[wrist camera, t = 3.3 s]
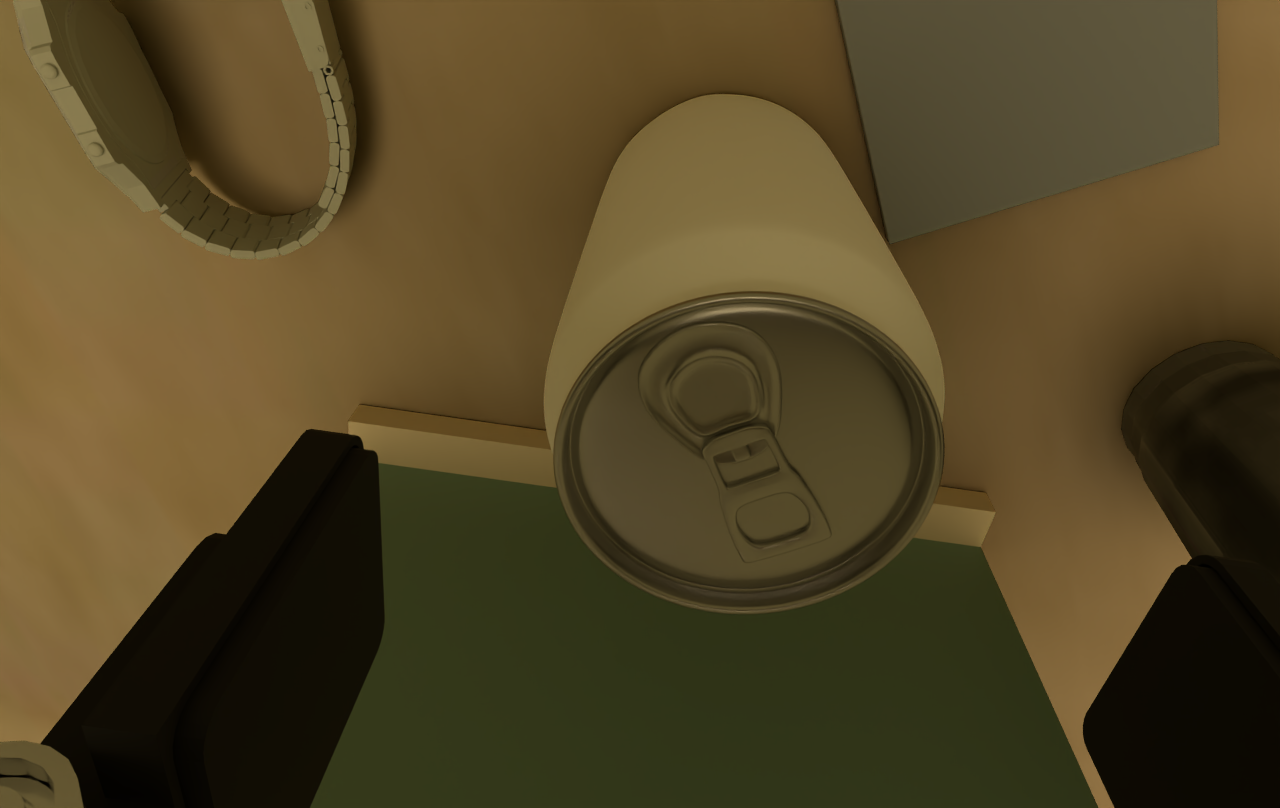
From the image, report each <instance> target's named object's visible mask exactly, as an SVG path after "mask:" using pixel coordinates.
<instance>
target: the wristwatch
mask: <svg viewBox="0 0 1280 808" xmlns="http://www.w3.org/2000/svg"><path fill="white" fill-rule="evenodd" d="M282 3H283V6H284V8H285V11H286V13H287V16H288V19H289V21H290V24H291V26H292V29H293V32H294V34H295V37H296V39H297V42H298V45H299V47H300V50H301V53H302V55H303V58H304V60H305V63H306V66H307V68H308V71H312V72H313V76H314V80H315V83H316V87H317V91H318V92H319V93H321V94H320V99H321V103H322V108H323V112H324V116H325V117H326V118H327V119H326V121H327V130H328V139H329V141H330V142H331V143H330V150H329V163H330V165H331V166H330V169H329V173H328V177H327V180H326V183H325V186H324V189H323V191H322V194H321V197H320V200H319V202H318V203H316V204H315V205H314V206H313V207H312V208H310V209H305V210H303V211H301V212H299V213H296V214H294V215H292V216H291V215H284V216H277V217H272V218H271V216H268V215H260V214H251V215H250V213H249V212H248V211H245V210H243V209H240V208H237V207H235V206H230V207H229V203H228V202H226V201H224V200H223V199H221V198H219V197H218V196H216V195H214V194H213V193H210V192H211V191H210V190H209V189H208V188H207V187H206V186H205V185H204V184H203V183H202V182H201V181H200V180H199V179H198V178H197V177H195V176H194V177H192V176H191V175H190V174H189V173H190V172H191V171H192V170H191V168H190V165H189V163H188V161H187V158H186V156H185V153H184V151H183V149H182V146H181V143H180V140H179V136H178V133H177V129H176V126H175V122H174V119H173V113H172V111H171V109H170V107H169V105H168V103H167V101H166V99H165V97H164V95H163V93H162V91H161V88H160V86H159V84H158V82H157V80H156V78H155V76H154V74H153V72H152V70H151V68H150V66H149V64H148V62H147V60H146V58H145V56H144V54H143V52H142V50H141V48H140V45H139V43H138V41H137V39H136V37H135V35H134V33H133V31H132V28H131V27H130V25H129V23H128V21H127V19H126V17H125V16H124V15H123V14H122V13H120V12H118V11H117V10H116V9H115V7H114V6H113V5H112V4H111V2H110V1H109V0H14V2H13V4H14V8H15V12H16V17H17V21H18V25H19V29H20V34H21V38H22V42H23V46H24V50H25V52H26V53H27V55H28V57H29V59H30V61H31V63H32V64H33V66H34V68H35V70H36V71H37V73H38V75H39V76H40V78H41V80H42V82H43V83H44V85H45V87H46V88H47V90H48V92H49V93H50V95H51V97H52V98H53V100H54V102H55V103H56V105H57V107H58V108H59V110H60V112H61V113H62V115H63V117H64V118H65V120H66V122H67V123H68V125H69V127H70V128H71V130H72V132H73V134H74V135H75V137H76V139H77V140H78V142H79V144H80V145H81V147H82V149H83V150H84V152H85V154H86V155H87V157H88V158H89V160H90V161H91V163H92V164H93V166H94V167H95V169H96V170H98V171H99V172H100V173H101V174H102V175H104V176H105V177H106V178H107V179H108V180H110V181H111V182H112V183H113V184H114V185H115V186H116V187H117V188H118V189H120V190H121V191H122V192H123V193H124V194H125V195H126V196H128V197H129V198H130V199H131V200H132V201H133V202H134V203H135V204H136V205H137V206H138V207H139V208H140V209H141V211H142V212H147V211H151V210H155V209H158V210H159V211H160V213H161V212H163V211H164V212H163V213H162V215H161V216H160V219H161V220H162V221H163V222H164V223H166V224H167V225H168V226H169V227H171V228H172V229H173V230H175V231H176V232H177V233H181V232H182V234H181V236H182V237H183V238H185V239H187V240H189V241H191V242H193V243H195V244H197V245H199V246H201V247H203V246H205V249H206V250H207V251H211V252H215V253H218V254H222V255H226V256H228V255H229V254H230V255H231V257H232V258H239V259H254V258H255V257H256V258H257V259H258V260H261V259H266V258H271V257H276V256H279V254H281V255H286V254H288V253H290V252H292V251H295V250H297V249H299V248H301V246H302V245H303V246H306V245H307V244H308V243H310V242H311V241H312V240H313V239H315V238H316V237H317V236H318V235H319V233H320V232H323V231H324V230H325V228H326V227H327V226H328V224H329V223H330V221H331V220H332V219H333V216H334V214H336V213H337V211H338V208H339V206H340V204H341V201H342V199H343V196H344V193H345V191H346V186H347V183H348V180H349V177H350V174H351V171H352V167H353V161H354V155H355V150H356V126H357V121H356V112H355V107H354V106H353V105H354V97H353V92H352V88H351V84H350V83H349V79H350V78H349V74H348V71H347V67H346V64H345V60H344V59H343V58H341V57H342V51H341V50H340V44H339V40H338V37H337V33H336V29H335V25H334V21H333V17H332V14H331V10H330V6H329V2H328V0H282Z"/></svg>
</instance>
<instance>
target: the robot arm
mask: <svg viewBox="0 0 1280 808" xmlns="http://www.w3.org/2000/svg"><path fill="white" fill-rule="evenodd" d="M384 623H385V610H384V585H383V561H382V536H381V511H380V486H379V462H378V456H377V453H376V452H375V451H373V450H366V449H364V446H363V442H362V439H361V438H360V437H359V436H357V435H350V434H343V433H336V432H329V431H322V430H315V429H309V430H306V431H305V432H304V433H303V434H302V435H301V437H300V438H299V439H298V440H297V442H296V443H295V444H294V446H293V447H292V448H291V450H290V451H289V452H288V454H287V455H286V456H285V458H284V459H283V460H282V462H281V463H280V464H279V466H278V467H277V468H276V469H275V471H274V472H273V473H272V475H271V476H270V477H269V479H268V480H267V481H266V483H265V484H264V485H263V487H262V488H261V489H260V491H259V492H258V493H257V494H256V496H255V497H254V498H253V500H252V501H251V502H250V504H249V505H248V506H247V508H246V509H245V510H244V512H243V513H242V514H241V516H240V517H239V518H238V520H237V521H236V522H235V523H234V525H233V526H232V527H231V529H230V530H229V531H228V533H227V534H218V533H215V534H212V535H210V536H208V537H206V538H205V539H204V540H203V541H202V542H201V543H200V544H199V545H198V546H197V547H196V548H195V549H194V550H193V552H192V553H191V554H190V555H189V557H188V558H187V559H186V560H185V562H184V563H183V564H182V565H181V567H180V568H179V569H178V571H177V572H176V573H175V574H174V576H173V577H172V578H171V579H170V581H169V582H168V583H167V584H166V586H165V587H164V588H163V589H162V591H161V592H160V593H159V595H158V596H157V597H156V598H155V600H154V601H153V602H152V603H151V605H150V606H149V607H148V608H147V610H146V611H145V612H144V613H143V615H142V616H141V617H140V619H139V620H138V621H137V622H136V624H135V625H134V626H133V627H132V629H131V630H130V631H129V632H128V634H127V635H126V636H125V637H124V639H123V640H122V641H121V643H120V644H119V645H118V646H117V648H116V649H115V650H114V651H113V653H112V654H111V655H110V656H109V658H108V659H107V660H106V661H105V663H104V664H103V665H102V667H101V668H100V669H99V670H98V672H97V673H96V674H95V675H94V677H93V678H92V679H91V680H90V682H89V683H88V684H87V685H86V687H85V688H84V689H83V691H82V692H81V693H80V694H79V696H78V697H77V698H76V699H75V701H74V702H73V703H72V704H71V706H70V707H69V708H68V709H67V711H66V712H65V713H64V715H63V716H62V717H61V718H60V720H59V721H58V722H57V723H56V725H55V726H54V727H53V728H52V730H51V731H50V732H49V733H48V735H47V736H46V737H45V739H44V740H43V741H42V742H41V744H37V743H32V742H28V741H10V742H0V808H310V807H311V804H312V802H313V800H314V797H315V795H316V793H317V790H318V788H319V786H320V783H321V781H322V779H323V776H324V774H325V772H326V770H327V767H328V765H329V763H330V760H331V758H332V756H333V753H334V751H335V749H336V746H337V744H338V742H339V740H340V737H341V735H342V733H343V730H344V728H345V726H346V723H347V721H348V719H349V716H350V714H351V712H352V709H353V707H354V705H355V703H356V700H357V698H358V696H359V693H360V691H361V689H362V686H363V684H364V682H365V679H366V677H367V675H368V673H369V670H370V668H371V666H372V663H373V661H374V659H375V656H376V654H377V652H378V649H379V646H380V643H381V640H382V636H383V631H384ZM1083 737H1084V742H1085V745H1086V747H1087V750H1088V752H1089V754H1090V756H1091V758H1092V761H1093V763H1094V765H1095V767H1096V769H1097V771H1098V773H1099V775H1100V778H1101V780H1102V782H1103V784H1104V786H1105V788H1106V790H1107V793H1108V795H1109V797H1110V799H1111V801H1112V803H1113V805H1114V808H1280V584H1279V583H1278V582H1277V581H1276V580H1275V578H1274V577H1273V576H1272V575H1271V574H1270V573H1269V571H1268V570H1266V569H1265V568H1264V567H1263V566H1262V565H1260V564H1259V563H1256V562H1253V561H1248V560H1241V559H1234V558H1227V557H1219V556H1212V555H1198V556H1196V557H1194V558H1193V559H1191V560H1190V561H1189V562H1188V564H1187V565H1181V566H1179V567H1177V568H1176V569H1175V570H1174V572H1173V573H1172V574H1171V576H1170V577H1169V579H1168V581H1167V582H1166V584H1165V586H1164V587H1163V589H1162V590H1161V592H1160V594H1159V595H1158V597H1157V599H1156V600H1155V602H1154V603H1153V605H1152V607H1151V608H1150V610H1149V612H1148V613H1147V615H1146V617H1145V618H1144V620H1143V621H1142V623H1141V625H1140V626H1139V628H1138V630H1137V631H1136V633H1135V635H1134V636H1133V638H1132V639H1131V641H1130V643H1129V644H1128V646H1127V648H1126V649H1125V651H1124V653H1123V654H1122V656H1121V657H1120V659H1119V661H1118V662H1117V664H1116V666H1115V667H1114V669H1113V670H1112V672H1111V674H1110V675H1109V677H1108V679H1107V680H1106V682H1105V684H1104V685H1103V687H1102V688H1101V690H1100V692H1099V693H1098V695H1097V697H1096V698H1095V700H1094V702H1093V703H1092V705H1091V706H1090V708H1089V710H1088V711H1087V713H1086V716H1085V718H1084V723H1083Z"/></svg>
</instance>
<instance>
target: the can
mask: <svg viewBox="0 0 1280 808" xmlns="http://www.w3.org/2000/svg"><path fill="white" fill-rule="evenodd" d="M944 403H945V383H944V374H943V367H942V362H941V358H940V354H939V351H938V347H937V344H936V341H935V338H934V335H933V332H932V330H931V327H930V325H929V323H928V321H927V318H926V316H925V314H924V312H923V310H922V308H921V306H920V304H919V302H918V300H917V298H916V297H915V295H914V293H913V291H912V289H911V287H910V286H909V284H908V282H907V280H906V278H905V277H904V275H903V273H902V271H901V270H900V268H899V266H898V264H897V263H896V261H895V259H894V257H893V255H892V254H891V252H890V250H889V248H888V247H887V245H886V243H885V241H884V240H883V238H882V236H881V234H880V233H879V231H878V229H877V228H876V226H875V224H874V222H873V221H872V219H871V217H870V215H869V214H868V212H867V210H866V208H865V207H864V205H863V203H862V202H861V200H860V198H859V197H858V195H857V193H856V191H855V190H854V188H853V186H852V185H851V183H850V181H849V180H848V178H847V176H846V174H845V173H844V171H843V169H842V168H841V166H840V164H839V163H838V161H837V160H836V158H835V156H834V155H833V153H832V152H831V150H830V149H829V147H828V146H827V145H826V143H825V142H824V141H823V139H822V138H821V137H820V136H819V135H818V133H817V132H816V131H815V130H814V129H813V128H812V127H811V126H809V125H808V124H807V123H806V122H805V121H804V120H802V119H801V118H800V117H798V116H797V115H795V114H794V113H792V112H791V111H789V110H787V109H785V108H783V107H781V106H779V105H777V104H775V103H772V102H770V101H767V100H764V99H760V98H756V97H751V96H745V95H736V94H712V95H705V96H701V97H697V98H694V99H690V100H688V101H685V102H683V103H681V104H678V105H676V106H674V107H673V108H671V109H669V110H667V111H666V112H664V113H662V114H661V115H660V116H658V117H657V118H655V119H654V120H653V121H651V122H650V123H649V124H647V125H646V126H645V127H644V128H643V129H642V130H640V131H639V132H638V133H637V134H636V135H635V136H634V137H633V138H632V140H631V141H630V142H629V143H628V144H627V146H626V147H625V148H624V150H623V151H622V153H621V154H620V156H619V157H618V159H617V161H616V163H615V165H614V167H613V169H612V171H611V173H610V176H609V178H608V181H607V183H606V186H605V189H604V191H603V194H602V197H601V200H600V202H599V205H598V208H597V211H596V214H595V217H594V220H593V223H592V225H591V228H590V231H589V234H588V237H587V240H586V243H585V246H584V249H583V252H582V255H581V258H580V261H579V264H578V267H577V270H576V273H575V276H574V279H573V282H572V285H571V288H570V291H569V294H568V297H567V300H566V303H565V306H564V309H563V312H562V315H561V319H560V322H559V325H558V328H557V331H556V334H555V338H554V341H553V345H552V349H551V353H550V356H549V360H548V365H547V370H546V377H545V387H544V418H545V425H546V431H547V436H548V440H549V444H550V447H551V450H552V453H553V466H554V475H555V481H556V486H557V490H558V494H559V497H560V500H561V503H562V506H563V508H564V511H565V513H566V515H567V517H568V519H569V521H570V523H571V525H572V526H573V528H574V530H575V531H576V533H577V534H578V536H579V537H580V539H581V540H582V541H583V543H584V544H585V545H586V546H587V548H588V549H589V550H590V551H591V552H592V553H593V554H594V555H595V556H596V557H597V558H598V559H599V560H600V561H601V562H602V563H603V564H604V565H605V566H606V567H607V568H609V569H610V570H611V571H612V572H614V573H615V574H616V575H618V576H619V577H620V578H622V579H623V580H625V581H626V582H628V583H630V584H631V585H633V586H635V587H636V588H638V589H640V590H642V591H644V592H646V593H648V594H650V595H652V596H655V597H657V598H659V599H662V600H665V601H667V602H670V603H673V604H676V605H680V606H683V607H687V608H691V609H696V610H701V611H706V612H713V613H722V614H739V615H750V614H767V613H775V612H782V611H788V610H793V609H797V608H802V607H805V606H809V605H812V604H816V603H819V602H822V601H824V600H827V599H830V598H832V597H835V596H837V595H839V594H841V593H843V592H845V591H848V590H850V589H851V588H853V587H855V586H857V585H859V584H860V583H862V582H864V581H865V580H867V579H868V578H870V577H871V576H873V575H874V574H876V573H877V572H878V571H880V570H881V569H882V568H884V567H885V566H886V565H887V564H888V563H890V562H891V561H892V560H893V559H894V558H895V557H896V556H897V555H898V554H899V553H900V552H901V551H902V550H903V549H904V548H905V547H906V546H907V544H908V543H909V542H910V541H911V540H912V538H913V537H914V536H915V534H916V533H917V532H918V530H919V529H920V527H921V526H922V524H923V522H924V521H925V519H926V517H927V515H928V513H929V511H930V509H931V507H932V505H933V503H934V500H935V498H936V495H937V492H938V489H939V485H940V482H941V477H942V472H943V465H944V434H943V427H942V420H943V413H944Z"/></svg>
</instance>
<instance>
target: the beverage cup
mask: <svg viewBox="0 0 1280 808" xmlns="http://www.w3.org/2000/svg"><path fill="white" fill-rule="evenodd" d="M1121 430H1122V433H1123V436H1124V439H1125V443H1126V446H1127V448H1128V449H1129V450H1130V451H1131V453H1132V454H1133V455H1134V456H1135V459H1136V462H1137V464H1138V466H1139V467H1140V469H1141V471H1142V475H1143V478H1144V481H1145V482H1146V484H1147V486H1148V487H1149V489H1150V490H1151V492H1152V494H1153V495H1154V497H1155V499H1156V500H1157V502H1158V503H1159V505H1160V507H1161V508H1162V510H1163V512H1164V513H1165V515H1166V517H1167V518H1168V520H1169V521H1170V523H1171V525H1172V526H1173V528H1174V530H1175V531H1176V533H1177V534H1178V536H1179V538H1180V539H1181V541H1182V543H1183V544H1184V546H1185V548H1186V549H1187V551H1188V552H1189V554H1190V556H1191V557H1192V559H1193V558H1194V557H1196V556H1198V555H1212V556H1219V557H1227V558H1234V559H1241V560H1248V561H1253V562H1256V563H1259V564H1260V565H1262V566H1263V567H1264V568H1265V569H1266V570H1268V571H1269V573H1270V574H1271V575H1272V576H1273V577H1274V578H1275V580H1276V581H1277V582H1278V583H1279V584H1280V360H1279V359H1278V358H1276V357H1275V356H1274V355H1273V354H1271V353H1269V352H1267V351H1265V350H1263V349H1261V348H1259V347H1257V346H1256V345H1254V344H1248V343H1241V342H1235V341H1222V342H1214V343H1206V344H1200V345H1198V346H1195V347H1192V348H1190V349H1187V350H1185V351H1182V352H1179V353H1177V354H1174V355H1173V356H1171V357H1170V358H1168V359H1167V360H1165V361H1164V362H1162V363H1161V364H1159V365H1158V366H1156V367H1155V368H1153V369H1152V370H1151V371H1150V372H1149V373H1148V374H1147V375H1146V376H1145V377H1144V378H1143V380H1142V381H1141V382H1140V383H1139V384H1138V385H1137V386H1136V387H1135V388H1134V390H1133V392H1132V394H1131V396H1130V398H1129V400H1128V402H1127V404H1126V406H1125V408H1124V411H1123V420H1122V428H1121Z"/></svg>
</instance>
